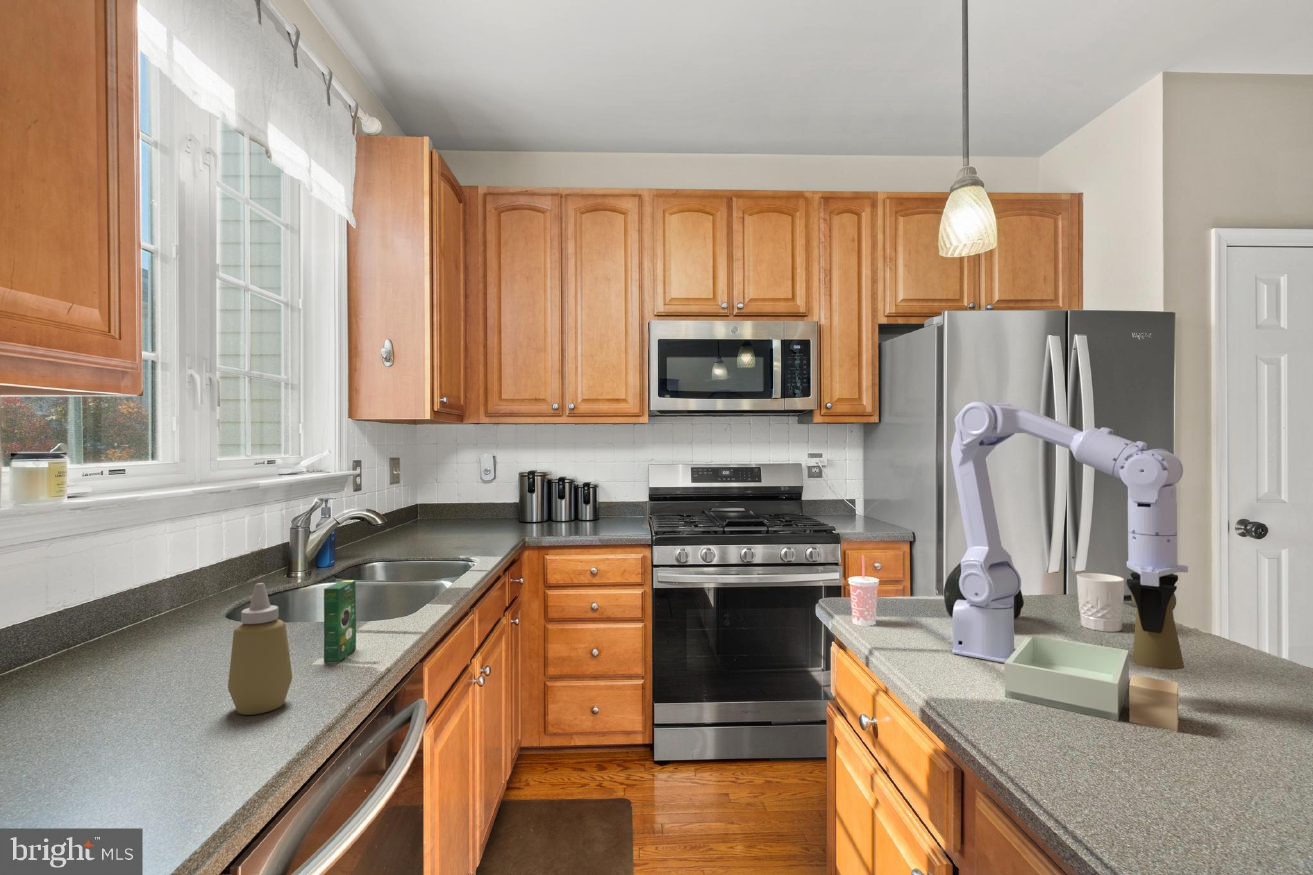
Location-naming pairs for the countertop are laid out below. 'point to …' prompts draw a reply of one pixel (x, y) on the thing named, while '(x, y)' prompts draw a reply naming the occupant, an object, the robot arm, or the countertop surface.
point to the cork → (1158, 643)
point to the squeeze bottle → (259, 658)
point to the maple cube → (1153, 702)
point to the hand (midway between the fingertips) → (1153, 627)
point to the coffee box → (339, 621)
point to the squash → (954, 594)
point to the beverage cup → (863, 598)
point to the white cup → (1100, 601)
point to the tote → (1069, 676)
